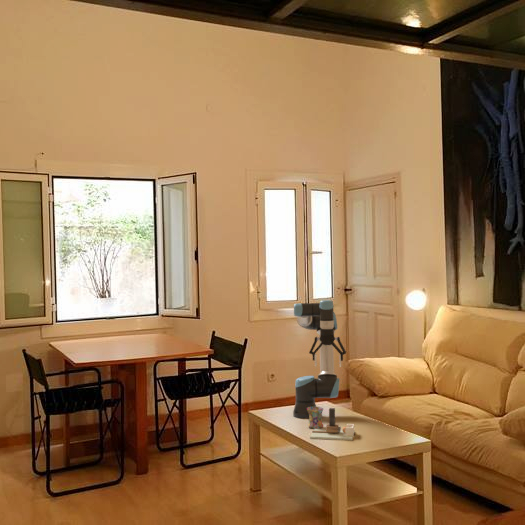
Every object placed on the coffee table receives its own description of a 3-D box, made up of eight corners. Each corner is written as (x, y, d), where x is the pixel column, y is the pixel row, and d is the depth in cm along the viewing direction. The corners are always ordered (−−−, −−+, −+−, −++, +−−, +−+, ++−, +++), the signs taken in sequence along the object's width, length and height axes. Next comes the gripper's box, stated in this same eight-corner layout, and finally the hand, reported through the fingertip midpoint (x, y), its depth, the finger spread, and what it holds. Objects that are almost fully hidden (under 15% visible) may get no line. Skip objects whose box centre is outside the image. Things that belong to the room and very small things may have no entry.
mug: (326, 428, 343) (326, 409, 343) (310, 430, 341) (310, 410, 341) (318, 423, 355) (317, 404, 355) (303, 424, 352) (302, 406, 352)
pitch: (314, 430, 340) (314, 427, 340) (354, 431, 335) (354, 428, 335) (310, 438, 324) (310, 435, 324) (352, 440, 319) (352, 437, 319)
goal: (346, 431, 333) (346, 423, 333) (354, 431, 332) (354, 424, 332) (345, 435, 325) (345, 427, 325) (353, 435, 324) (352, 428, 324)
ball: (345, 424, 331) (350, 429, 330) (341, 429, 331) (346, 433, 331) (345, 426, 327) (350, 430, 327) (340, 430, 328) (345, 435, 327)
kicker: (327, 429, 334) (326, 407, 334) (340, 430, 332) (340, 407, 332) (326, 432, 329) (325, 409, 329) (339, 432, 327) (339, 410, 327)
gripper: (303, 329, 340) (304, 367, 340) (349, 328, 335) (350, 368, 335) (305, 327, 347) (306, 365, 347) (350, 327, 342) (351, 365, 342)
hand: (328, 366), depth 341 cm, fingers open, 13 cm apart
